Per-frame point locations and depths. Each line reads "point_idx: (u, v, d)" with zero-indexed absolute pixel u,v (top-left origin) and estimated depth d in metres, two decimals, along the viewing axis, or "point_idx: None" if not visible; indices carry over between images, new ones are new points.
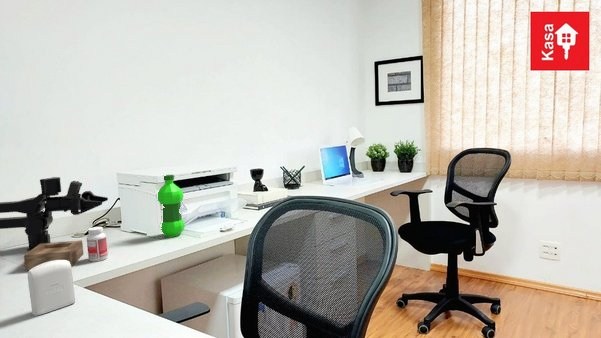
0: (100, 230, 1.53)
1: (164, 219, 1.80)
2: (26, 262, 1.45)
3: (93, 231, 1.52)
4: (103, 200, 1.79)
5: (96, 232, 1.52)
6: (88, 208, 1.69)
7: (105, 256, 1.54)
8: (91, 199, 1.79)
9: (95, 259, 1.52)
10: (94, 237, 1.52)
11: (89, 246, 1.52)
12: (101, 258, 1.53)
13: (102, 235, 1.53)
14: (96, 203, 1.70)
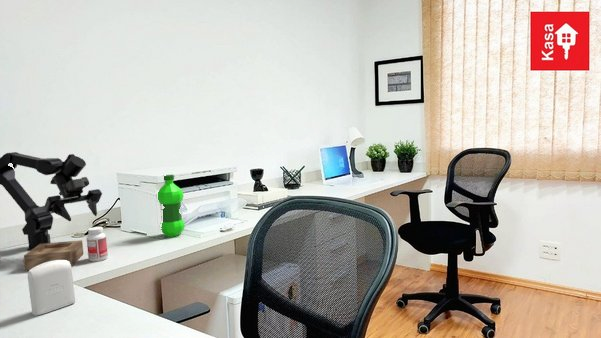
0: (100, 230, 1.53)
1: (164, 219, 1.80)
2: (26, 262, 1.45)
3: (93, 231, 1.52)
4: (93, 212, 1.63)
5: (96, 232, 1.52)
6: (59, 213, 1.57)
7: (105, 256, 1.54)
8: (90, 201, 1.65)
9: (95, 259, 1.52)
10: (94, 237, 1.52)
11: (89, 246, 1.52)
12: (101, 258, 1.53)
13: (102, 235, 1.53)
14: (66, 216, 1.56)
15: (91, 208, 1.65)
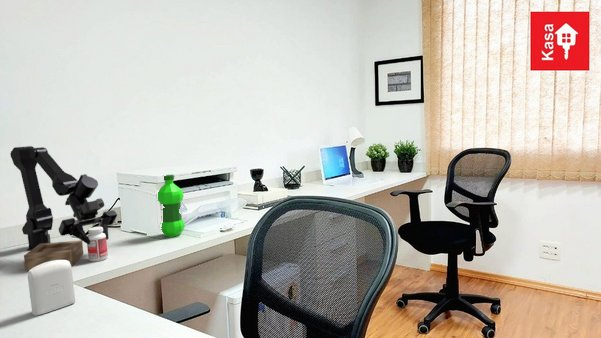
0: (100, 230, 1.53)
1: (164, 219, 1.80)
2: (26, 262, 1.45)
3: (93, 231, 1.52)
4: None
5: (96, 232, 1.52)
6: (78, 236, 1.52)
7: (105, 256, 1.54)
8: (101, 224, 1.59)
9: (95, 259, 1.52)
10: (94, 236, 1.52)
11: (89, 246, 1.52)
12: (101, 258, 1.53)
13: (102, 235, 1.53)
14: (85, 239, 1.51)
15: None
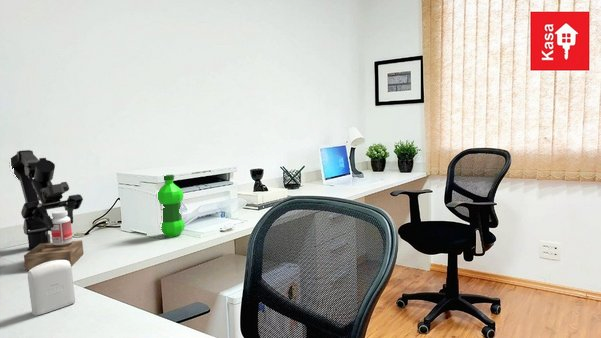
0: (64, 213, 1.51)
1: (164, 219, 1.80)
2: (26, 262, 1.45)
3: (57, 214, 1.50)
4: None
5: (60, 215, 1.50)
6: (41, 219, 1.50)
7: (69, 240, 1.53)
8: (66, 208, 1.57)
9: (59, 243, 1.50)
10: (58, 220, 1.50)
11: (53, 230, 1.50)
12: (65, 242, 1.51)
13: (66, 219, 1.52)
14: (48, 223, 1.49)
15: (67, 215, 1.56)
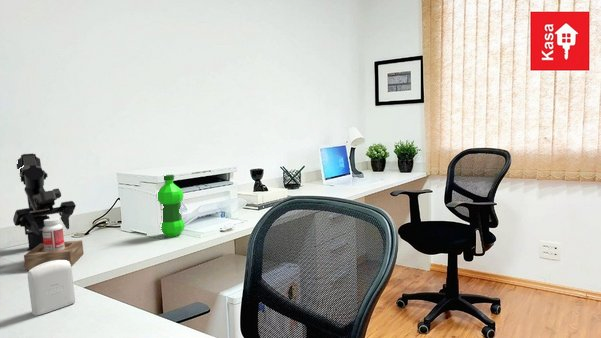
0: (56, 221, 1.51)
1: (164, 219, 1.80)
2: (26, 262, 1.45)
3: (48, 222, 1.50)
4: (65, 226, 1.56)
5: (51, 223, 1.50)
6: (29, 227, 1.49)
7: (61, 247, 1.52)
8: (63, 214, 1.58)
9: (50, 250, 1.50)
10: (49, 228, 1.50)
11: (44, 237, 1.50)
12: (57, 249, 1.51)
13: (58, 226, 1.52)
14: (35, 230, 1.48)
15: (63, 221, 1.57)
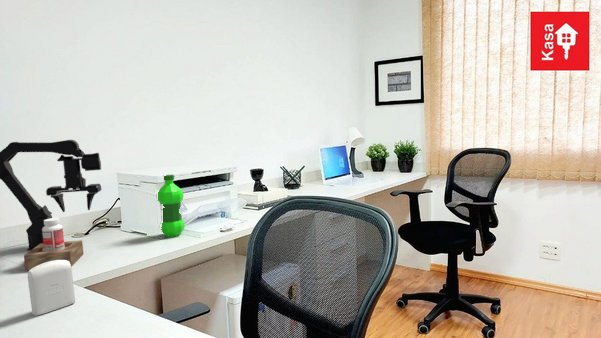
0: (56, 221, 1.51)
1: (164, 219, 1.80)
2: (26, 262, 1.45)
3: (48, 222, 1.50)
4: (63, 208, 1.74)
5: (51, 223, 1.50)
6: (90, 199, 1.75)
7: (61, 247, 1.52)
8: (61, 196, 1.74)
9: (50, 250, 1.50)
10: (49, 228, 1.50)
11: (44, 237, 1.50)
12: (57, 249, 1.51)
13: (58, 226, 1.52)
14: (90, 205, 1.77)
15: (61, 202, 1.74)
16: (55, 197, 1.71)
